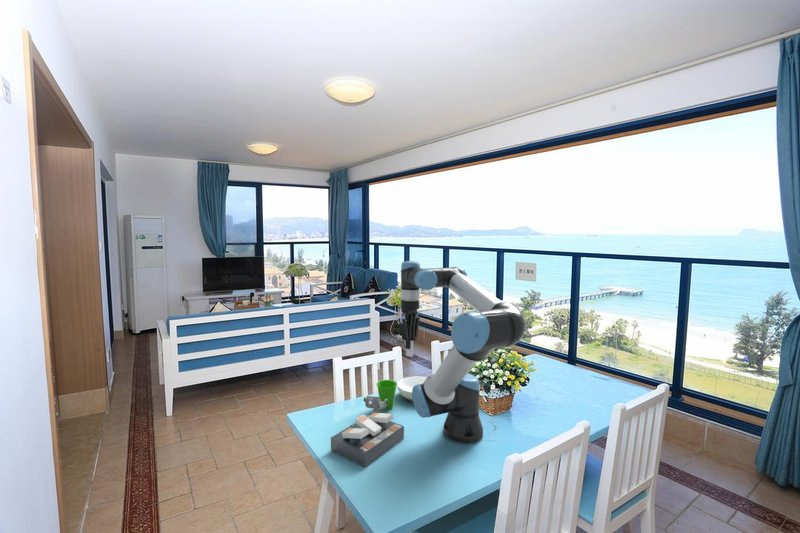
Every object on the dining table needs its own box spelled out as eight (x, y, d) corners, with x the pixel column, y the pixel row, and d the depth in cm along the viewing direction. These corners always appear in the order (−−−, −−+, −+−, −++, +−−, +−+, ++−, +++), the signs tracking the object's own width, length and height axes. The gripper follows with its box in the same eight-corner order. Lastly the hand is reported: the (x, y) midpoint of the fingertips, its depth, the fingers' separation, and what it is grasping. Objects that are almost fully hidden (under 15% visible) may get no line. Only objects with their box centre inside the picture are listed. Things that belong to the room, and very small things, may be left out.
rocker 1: (368, 433, 135) (367, 427, 135) (361, 438, 131) (359, 432, 132) (350, 433, 140) (349, 427, 140) (342, 438, 137) (341, 432, 137)
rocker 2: (380, 431, 141) (381, 427, 140) (373, 436, 138) (374, 431, 137) (362, 418, 146) (363, 414, 145) (355, 422, 142) (356, 418, 142)
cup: (373, 410, 169) (373, 385, 168) (381, 401, 177) (381, 378, 176) (392, 414, 166) (392, 389, 165) (400, 405, 174) (400, 381, 173)
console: (403, 438, 146) (403, 423, 146) (365, 467, 129) (365, 449, 128) (371, 425, 156) (371, 411, 155) (330, 451, 138) (330, 434, 137)
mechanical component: (387, 425, 156) (387, 401, 155) (363, 422, 158) (363, 398, 158) (389, 421, 159) (389, 397, 158) (365, 418, 161) (365, 395, 160)
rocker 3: (393, 418, 146) (392, 413, 146) (386, 423, 143) (385, 417, 143) (375, 417, 151) (374, 412, 151) (368, 421, 148) (367, 416, 148)
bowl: (393, 404, 175) (393, 391, 174) (400, 386, 194) (401, 375, 194) (437, 407, 172) (437, 394, 171) (440, 389, 191) (440, 377, 190)
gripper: (411, 296, 166) (411, 350, 168) (393, 300, 155) (392, 358, 157) (426, 298, 161) (425, 353, 163) (408, 302, 151) (408, 362, 153)
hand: (409, 355), depth 160 cm, fingers closed
